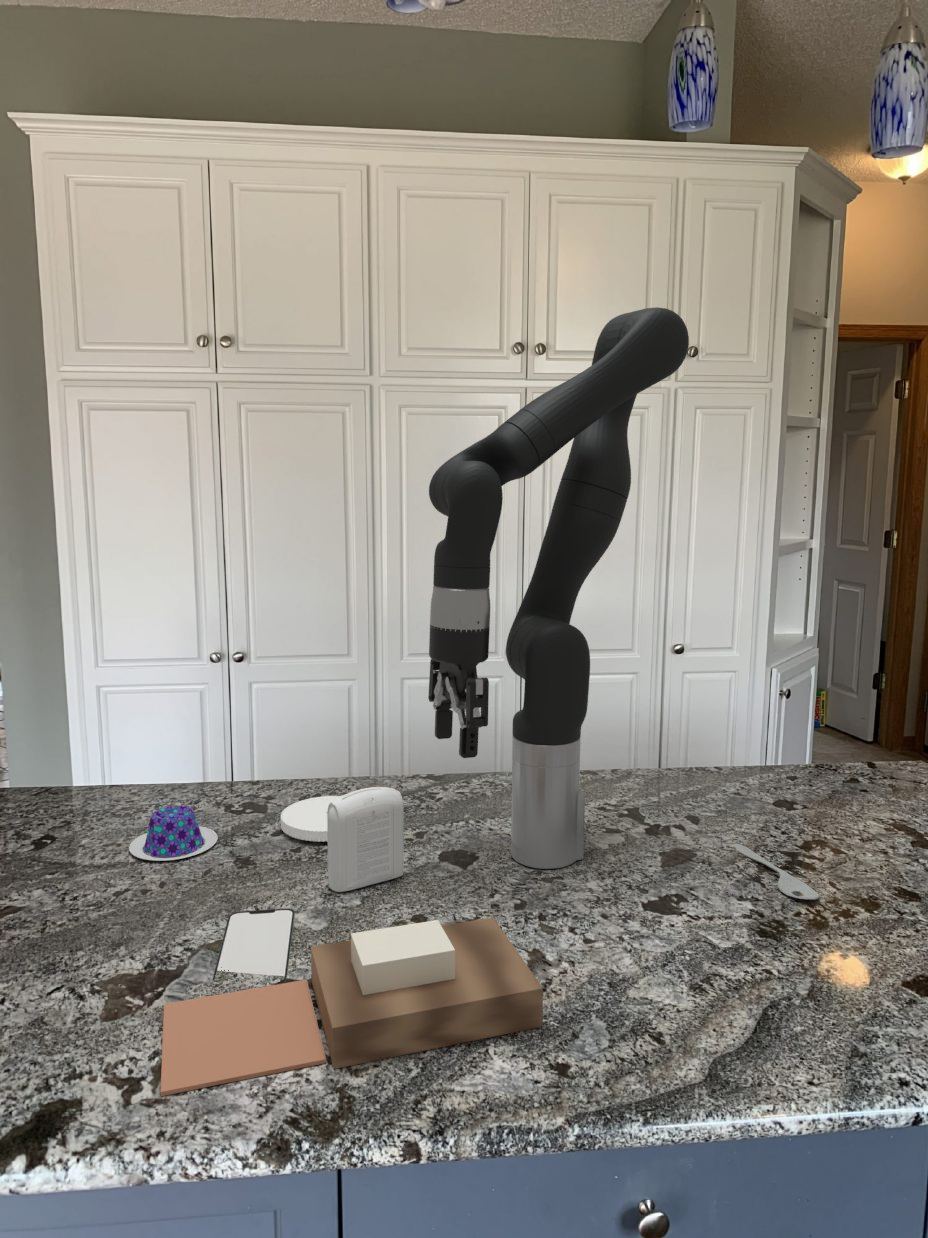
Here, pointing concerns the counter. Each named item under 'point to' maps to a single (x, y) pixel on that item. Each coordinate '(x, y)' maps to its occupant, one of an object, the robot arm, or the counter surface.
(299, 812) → the plastic lid
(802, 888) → the spoon
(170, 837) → the purple patterned hat
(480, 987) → the deck
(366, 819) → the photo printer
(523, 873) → the counter surface
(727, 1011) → the counter surface
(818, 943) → the counter surface
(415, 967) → the cream brick
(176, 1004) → the mat
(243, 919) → the smartphone
